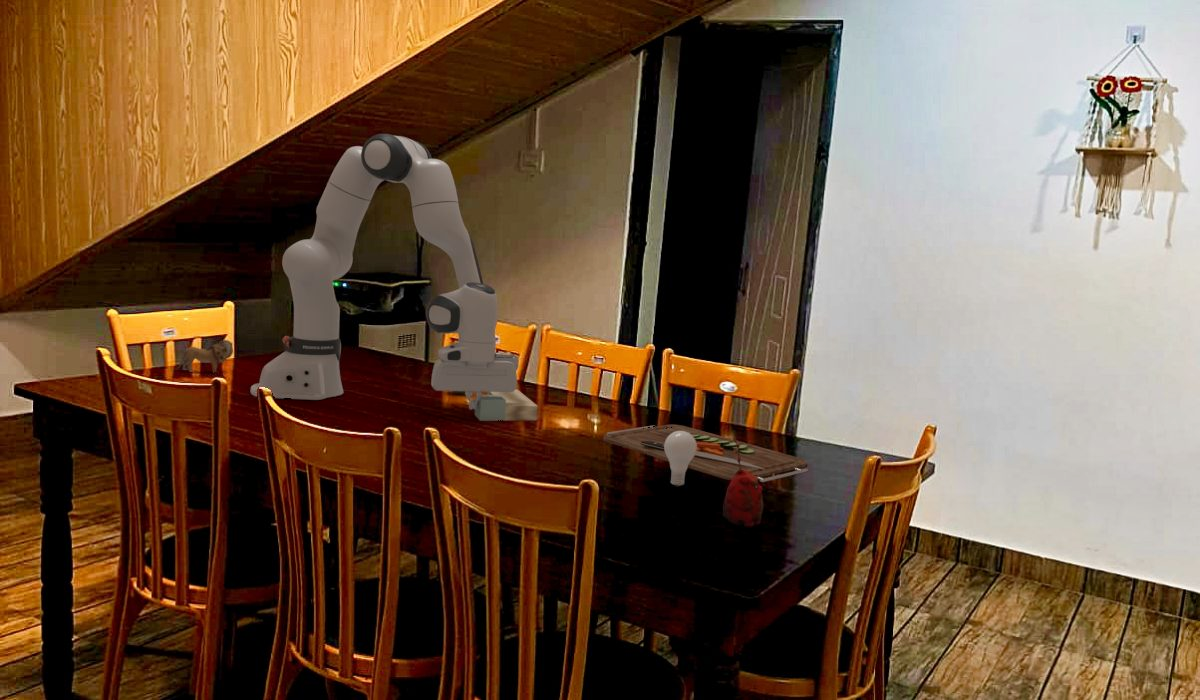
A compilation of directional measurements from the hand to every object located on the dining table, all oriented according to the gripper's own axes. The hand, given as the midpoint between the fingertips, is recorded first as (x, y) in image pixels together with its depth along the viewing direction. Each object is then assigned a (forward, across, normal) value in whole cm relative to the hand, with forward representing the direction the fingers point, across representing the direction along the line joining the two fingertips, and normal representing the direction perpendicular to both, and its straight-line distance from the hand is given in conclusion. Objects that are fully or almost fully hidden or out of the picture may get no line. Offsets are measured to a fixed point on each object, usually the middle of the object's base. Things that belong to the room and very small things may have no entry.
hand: (472, 409), depth 247 cm
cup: (+2, -2, -28) cm, 28 cm away
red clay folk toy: (+2, -32, +80) cm, 87 cm away
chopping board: (+2, -46, +33) cm, 57 cm away
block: (+2, -4, 0) cm, 5 cm away
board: (+2, -11, -7) cm, 14 cm away
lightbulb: (+2, -29, +58) cm, 65 cm away
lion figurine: (+3, +62, -54) cm, 82 cm away
